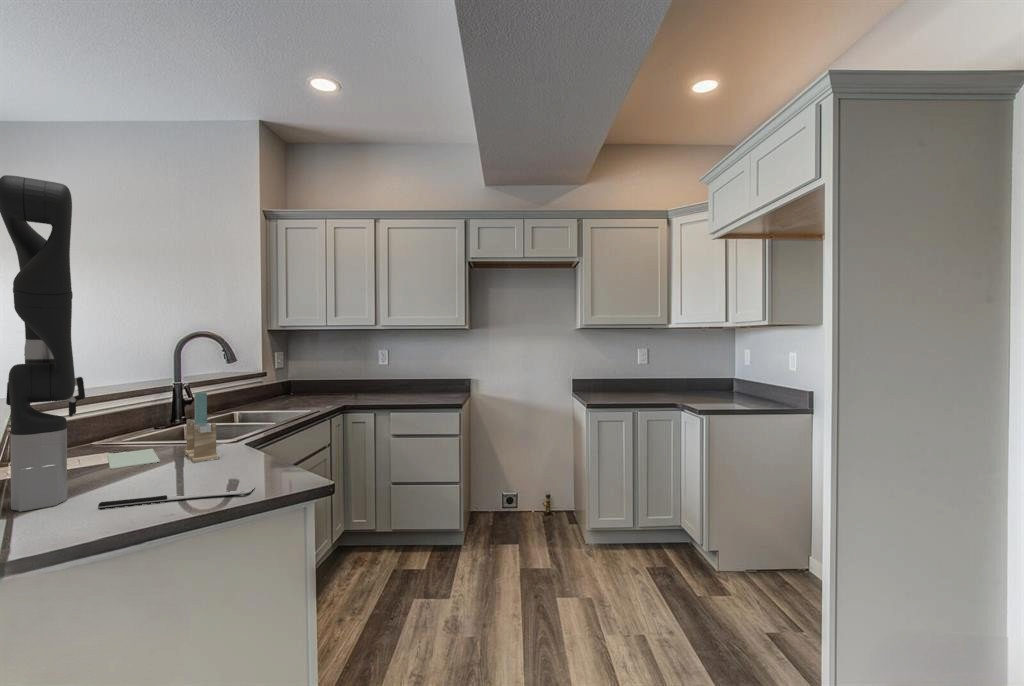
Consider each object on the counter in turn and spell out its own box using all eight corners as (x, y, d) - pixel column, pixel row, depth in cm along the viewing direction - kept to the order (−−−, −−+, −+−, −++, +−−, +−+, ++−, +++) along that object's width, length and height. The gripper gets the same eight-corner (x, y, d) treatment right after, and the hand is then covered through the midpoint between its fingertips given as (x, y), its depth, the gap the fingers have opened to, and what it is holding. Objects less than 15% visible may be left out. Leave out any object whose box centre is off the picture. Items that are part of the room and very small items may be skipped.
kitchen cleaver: (258, 482, 121) (250, 489, 112) (258, 488, 121) (249, 496, 112) (115, 496, 111) (92, 505, 102) (114, 503, 111) (92, 512, 102)
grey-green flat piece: (211, 431, 147) (211, 394, 147) (200, 432, 145) (199, 395, 145) (201, 424, 160) (201, 390, 160) (191, 425, 158) (190, 391, 158)
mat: (160, 462, 144) (160, 461, 144) (109, 469, 136) (109, 468, 136) (152, 449, 162) (152, 448, 162) (107, 455, 154) (107, 454, 154)
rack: (218, 459, 148) (218, 423, 148) (193, 463, 143) (192, 426, 143) (208, 449, 162) (207, 417, 162) (184, 452, 157) (183, 419, 157)
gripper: (3, 359, 110) (6, 425, 111) (84, 356, 120) (86, 417, 121) (5, 356, 115) (8, 420, 116) (82, 354, 125) (84, 412, 126)
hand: (48, 418), depth 118 cm, fingers open, 8 cm apart
